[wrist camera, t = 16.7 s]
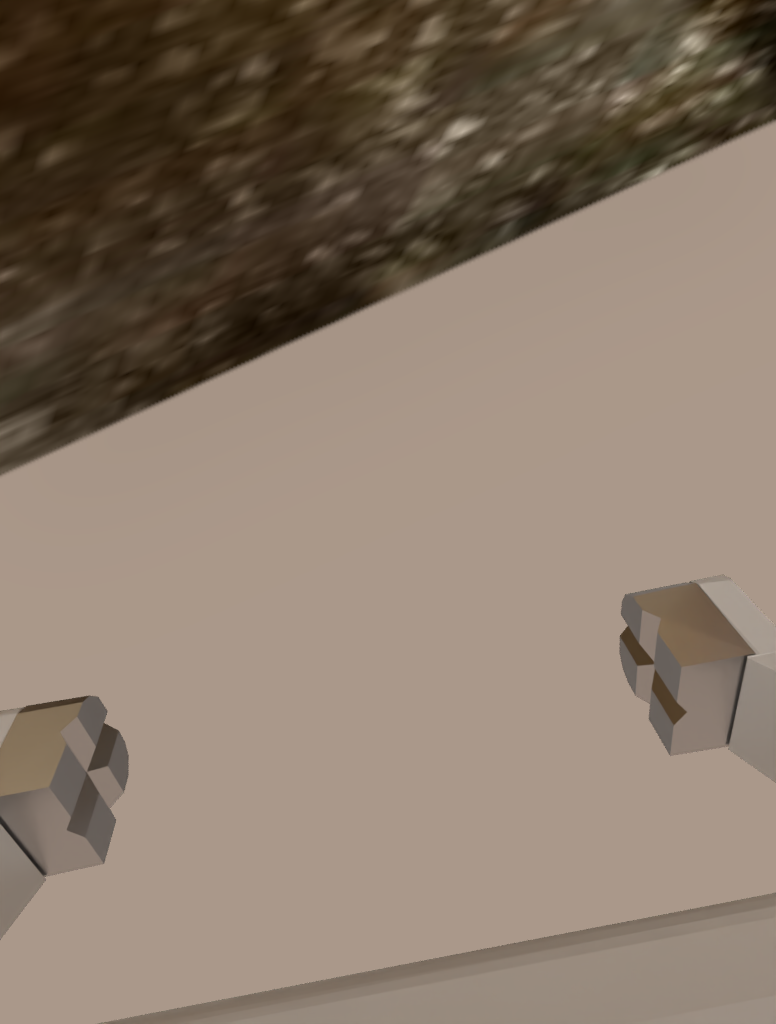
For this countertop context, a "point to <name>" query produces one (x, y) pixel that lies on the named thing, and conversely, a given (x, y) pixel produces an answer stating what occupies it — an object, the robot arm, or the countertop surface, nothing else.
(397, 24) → the countertop surface
